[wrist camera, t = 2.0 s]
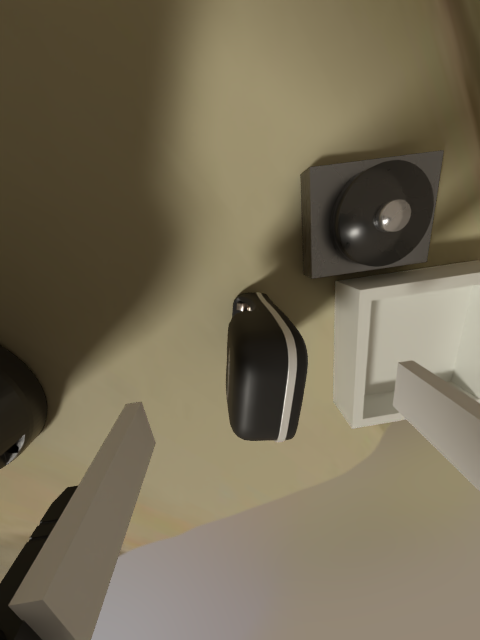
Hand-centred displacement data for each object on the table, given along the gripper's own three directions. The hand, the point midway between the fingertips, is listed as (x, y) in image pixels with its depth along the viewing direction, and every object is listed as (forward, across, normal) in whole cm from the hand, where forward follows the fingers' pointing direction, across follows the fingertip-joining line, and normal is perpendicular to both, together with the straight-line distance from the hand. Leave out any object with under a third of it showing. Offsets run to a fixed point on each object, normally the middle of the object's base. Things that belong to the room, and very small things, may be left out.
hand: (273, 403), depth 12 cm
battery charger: (+11, 0, 0) cm, 11 cm away
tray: (+11, +16, -4) cm, 20 cm away
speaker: (+11, +10, +8) cm, 17 cm away
